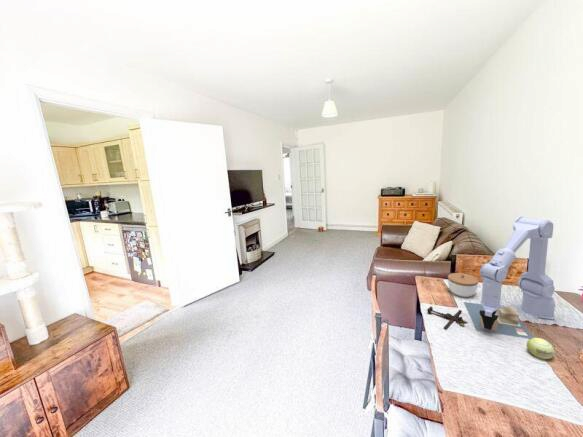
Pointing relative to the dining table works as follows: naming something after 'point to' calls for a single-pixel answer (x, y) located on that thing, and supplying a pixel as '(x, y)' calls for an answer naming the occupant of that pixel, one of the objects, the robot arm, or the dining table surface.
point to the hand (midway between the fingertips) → (488, 323)
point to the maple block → (508, 315)
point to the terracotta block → (494, 327)
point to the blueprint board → (502, 327)
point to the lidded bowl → (462, 284)
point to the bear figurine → (448, 317)
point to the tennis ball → (540, 348)
